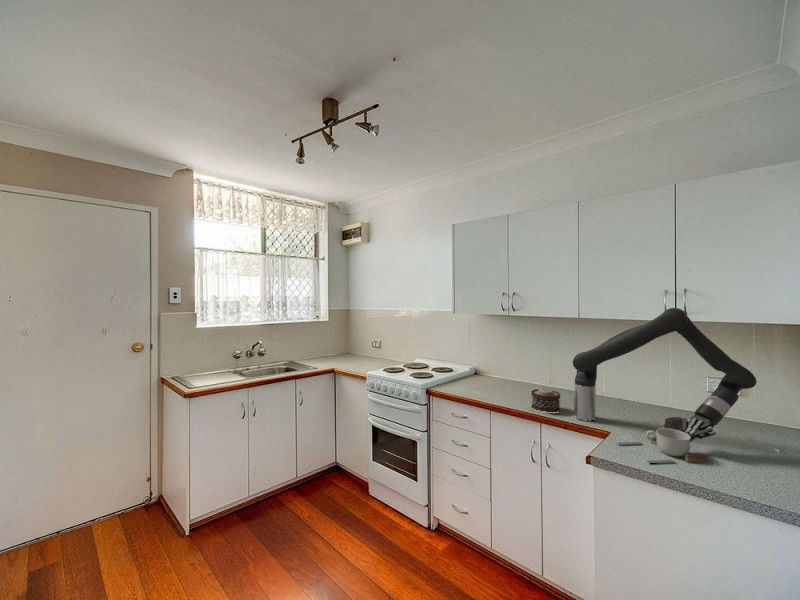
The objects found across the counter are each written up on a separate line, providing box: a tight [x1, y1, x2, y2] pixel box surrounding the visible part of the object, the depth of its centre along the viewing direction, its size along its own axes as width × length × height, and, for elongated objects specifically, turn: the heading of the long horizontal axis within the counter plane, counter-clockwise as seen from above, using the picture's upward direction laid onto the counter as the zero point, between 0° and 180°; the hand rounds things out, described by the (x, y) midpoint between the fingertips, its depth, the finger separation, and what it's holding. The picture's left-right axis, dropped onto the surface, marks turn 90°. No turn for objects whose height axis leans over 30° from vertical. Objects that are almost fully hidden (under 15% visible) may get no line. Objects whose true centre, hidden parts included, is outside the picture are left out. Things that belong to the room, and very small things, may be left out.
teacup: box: [645, 427, 691, 458], centre depth 138 cm, size 14×11×8 cm
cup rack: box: [650, 436, 709, 464], centre depth 138 cm, size 17×8×2 cm, turn 4°
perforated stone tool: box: [663, 416, 684, 432], centre depth 158 cm, size 15×5×7 cm, turn 118°
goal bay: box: [616, 441, 676, 465], centre depth 137 cm, size 18×10×1 cm, turn 4°
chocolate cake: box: [530, 388, 561, 412], centre depth 190 cm, size 15×11×15 cm
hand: (683, 442), depth 138 cm, fingers closed
